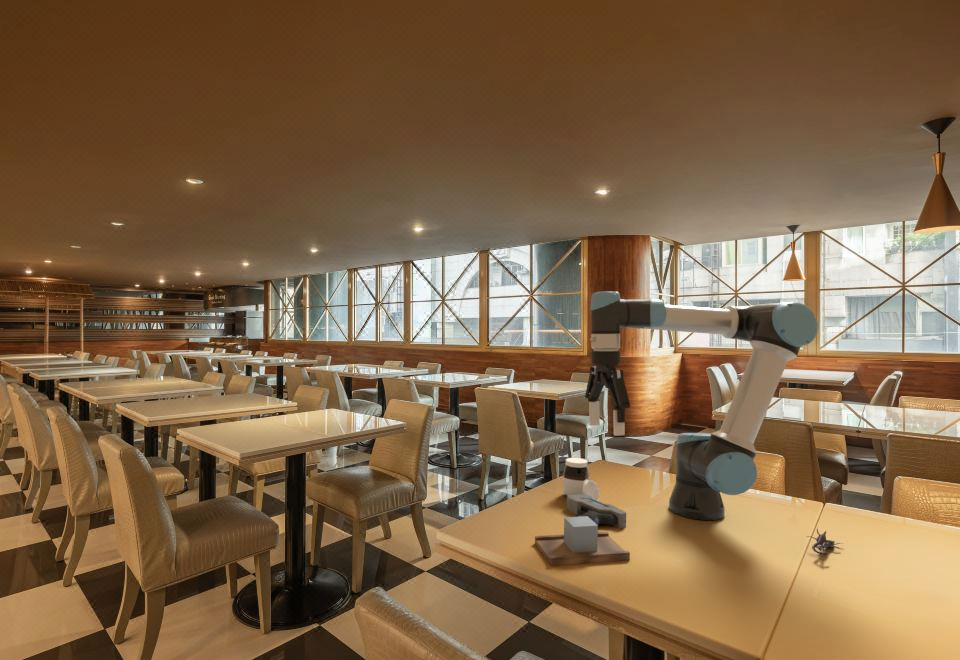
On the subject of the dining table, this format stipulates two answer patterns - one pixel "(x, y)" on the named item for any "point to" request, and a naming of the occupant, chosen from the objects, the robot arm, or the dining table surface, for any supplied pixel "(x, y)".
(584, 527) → the cube
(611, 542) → the board
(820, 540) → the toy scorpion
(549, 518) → the dining table surface
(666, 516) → the dining table surface
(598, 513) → the ray gun
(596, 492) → the spread jar
